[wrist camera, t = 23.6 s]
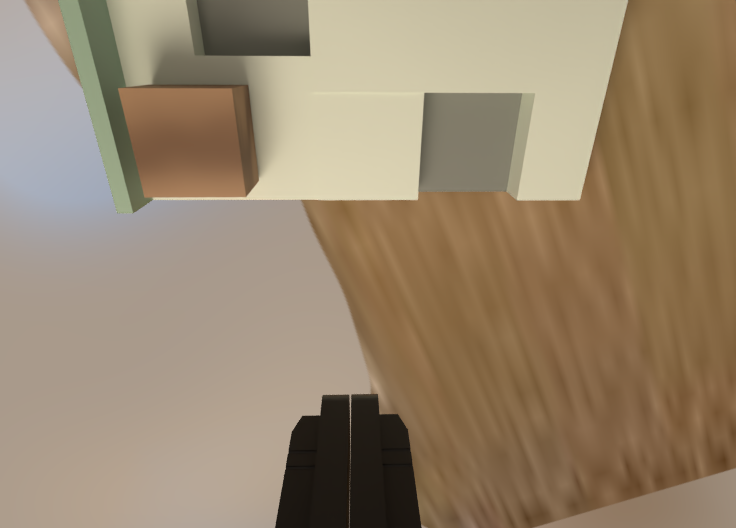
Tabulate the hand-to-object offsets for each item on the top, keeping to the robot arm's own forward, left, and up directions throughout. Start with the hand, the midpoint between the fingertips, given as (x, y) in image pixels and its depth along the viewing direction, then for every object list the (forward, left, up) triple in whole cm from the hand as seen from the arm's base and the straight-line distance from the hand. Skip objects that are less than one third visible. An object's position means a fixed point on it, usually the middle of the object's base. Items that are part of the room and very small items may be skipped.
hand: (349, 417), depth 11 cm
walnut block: (-4, -9, -20) cm, 22 cm away
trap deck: (-8, +1, -22) cm, 23 cm away
